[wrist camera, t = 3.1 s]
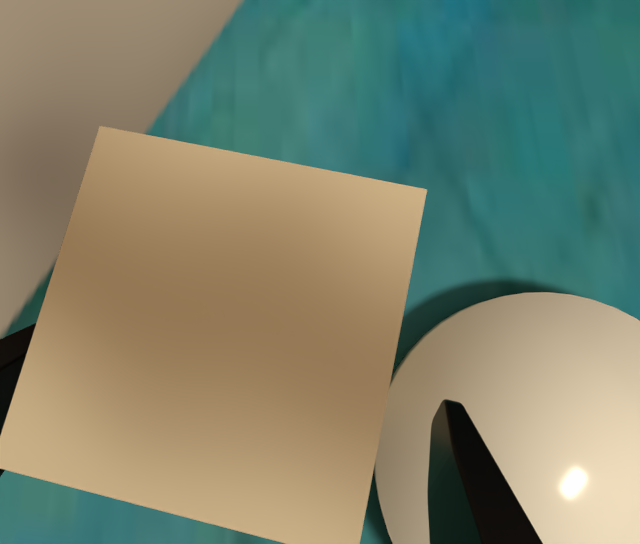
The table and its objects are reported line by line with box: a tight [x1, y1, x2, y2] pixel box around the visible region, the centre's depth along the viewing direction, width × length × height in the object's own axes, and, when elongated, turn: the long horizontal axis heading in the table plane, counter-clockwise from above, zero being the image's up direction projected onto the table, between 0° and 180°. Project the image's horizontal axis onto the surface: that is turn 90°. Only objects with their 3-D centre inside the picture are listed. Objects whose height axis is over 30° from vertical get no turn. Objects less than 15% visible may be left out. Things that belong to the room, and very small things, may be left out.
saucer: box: [374, 292, 640, 544], centre depth 17 cm, size 14×14×1 cm
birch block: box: [0, 126, 427, 544], centre depth 12 cm, size 5×5×13 cm
